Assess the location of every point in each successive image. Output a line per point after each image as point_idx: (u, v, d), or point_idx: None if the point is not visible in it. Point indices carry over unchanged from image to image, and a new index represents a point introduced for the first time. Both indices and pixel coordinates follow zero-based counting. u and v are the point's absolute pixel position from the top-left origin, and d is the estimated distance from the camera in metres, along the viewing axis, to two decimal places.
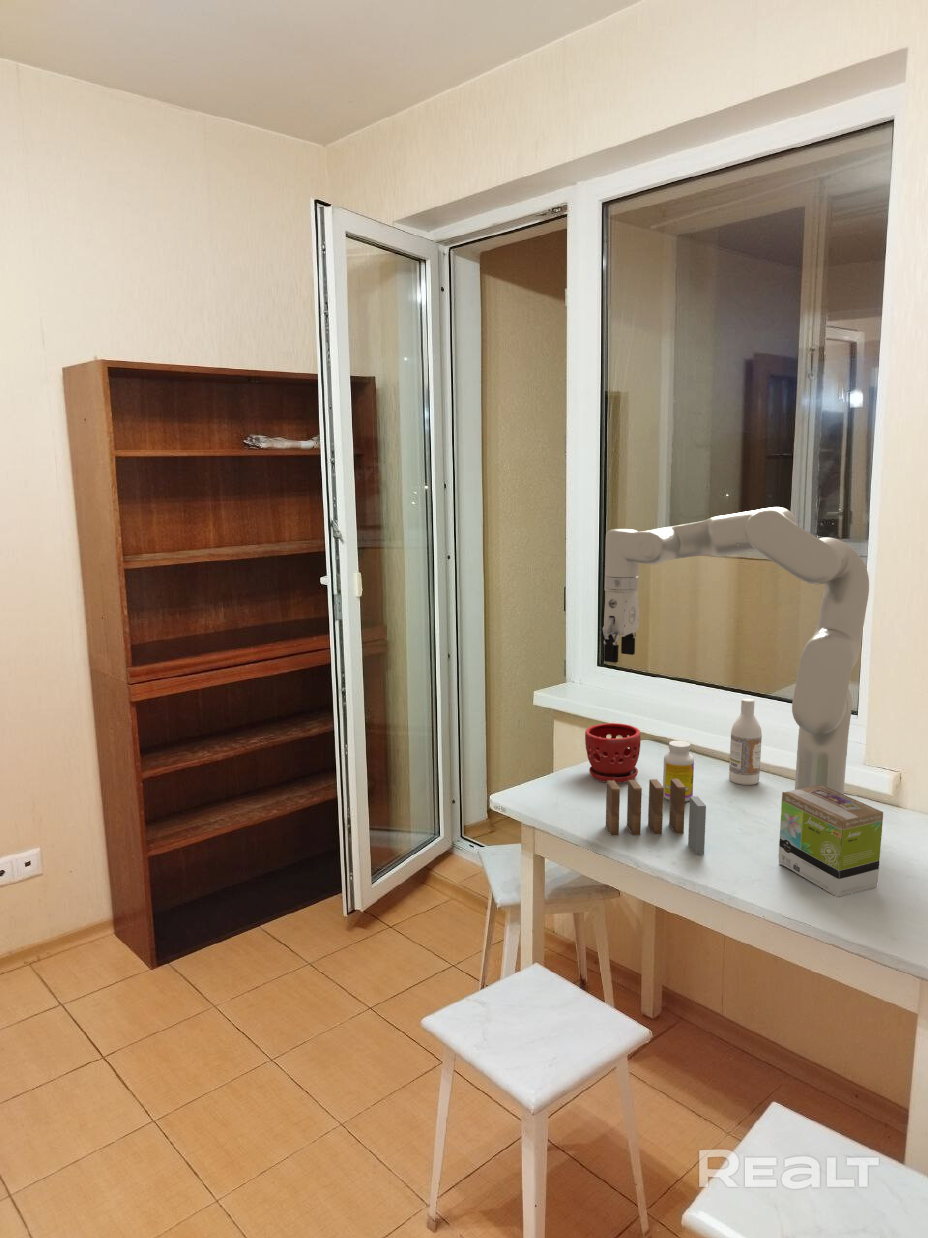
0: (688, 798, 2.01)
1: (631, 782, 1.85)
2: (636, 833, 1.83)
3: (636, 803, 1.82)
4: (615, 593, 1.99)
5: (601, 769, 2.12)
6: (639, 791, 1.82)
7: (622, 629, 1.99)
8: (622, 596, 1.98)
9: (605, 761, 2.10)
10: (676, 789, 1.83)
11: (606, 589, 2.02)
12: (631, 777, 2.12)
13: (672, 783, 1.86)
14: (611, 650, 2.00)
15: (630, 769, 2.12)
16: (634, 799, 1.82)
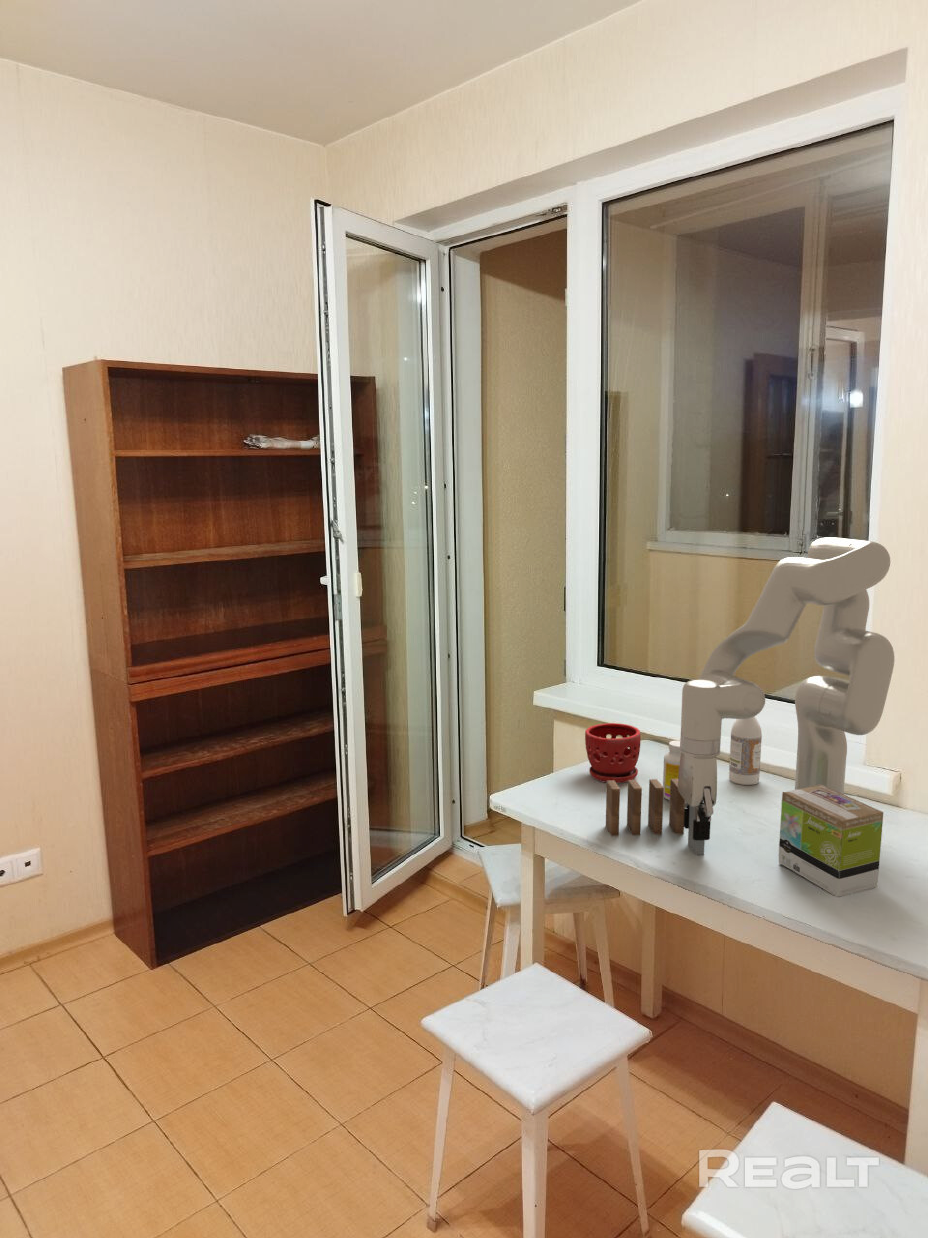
0: None
1: (631, 782, 1.85)
2: (636, 833, 1.83)
3: (636, 803, 1.82)
4: None
5: (601, 769, 2.12)
6: (639, 791, 1.82)
7: None
8: None
9: (605, 761, 2.10)
10: (676, 789, 1.83)
11: None
12: (631, 777, 2.12)
13: (672, 783, 1.86)
14: None
15: (630, 769, 2.12)
16: (634, 799, 1.82)
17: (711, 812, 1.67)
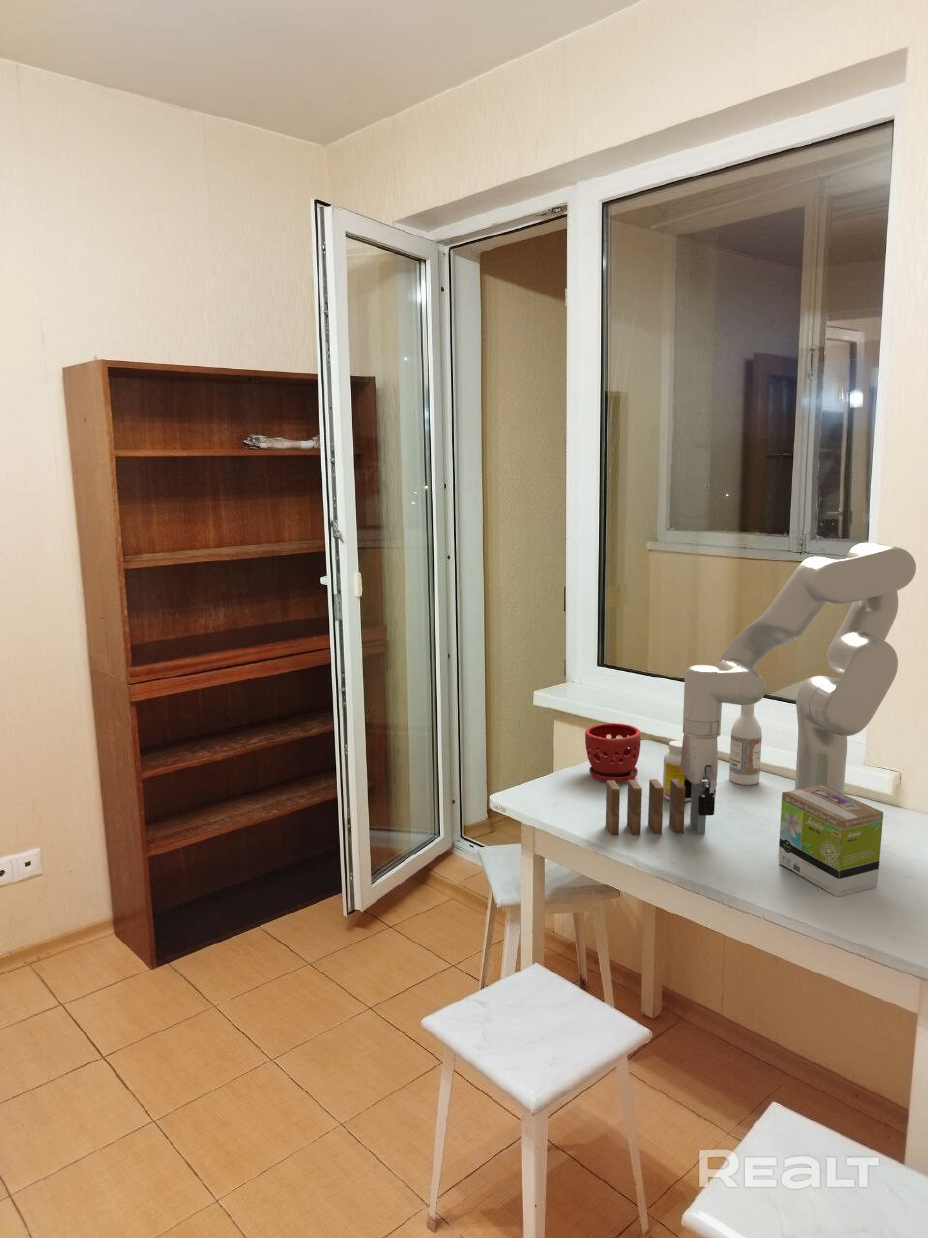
0: (688, 798, 2.01)
1: (631, 782, 1.85)
2: (636, 833, 1.83)
3: (636, 803, 1.82)
4: None
5: (601, 769, 2.12)
6: (639, 791, 1.82)
7: None
8: None
9: (605, 761, 2.10)
10: (676, 789, 1.83)
11: None
12: (631, 777, 2.12)
13: (672, 783, 1.86)
14: None
15: (630, 769, 2.12)
16: (634, 799, 1.82)
17: (715, 783, 1.76)
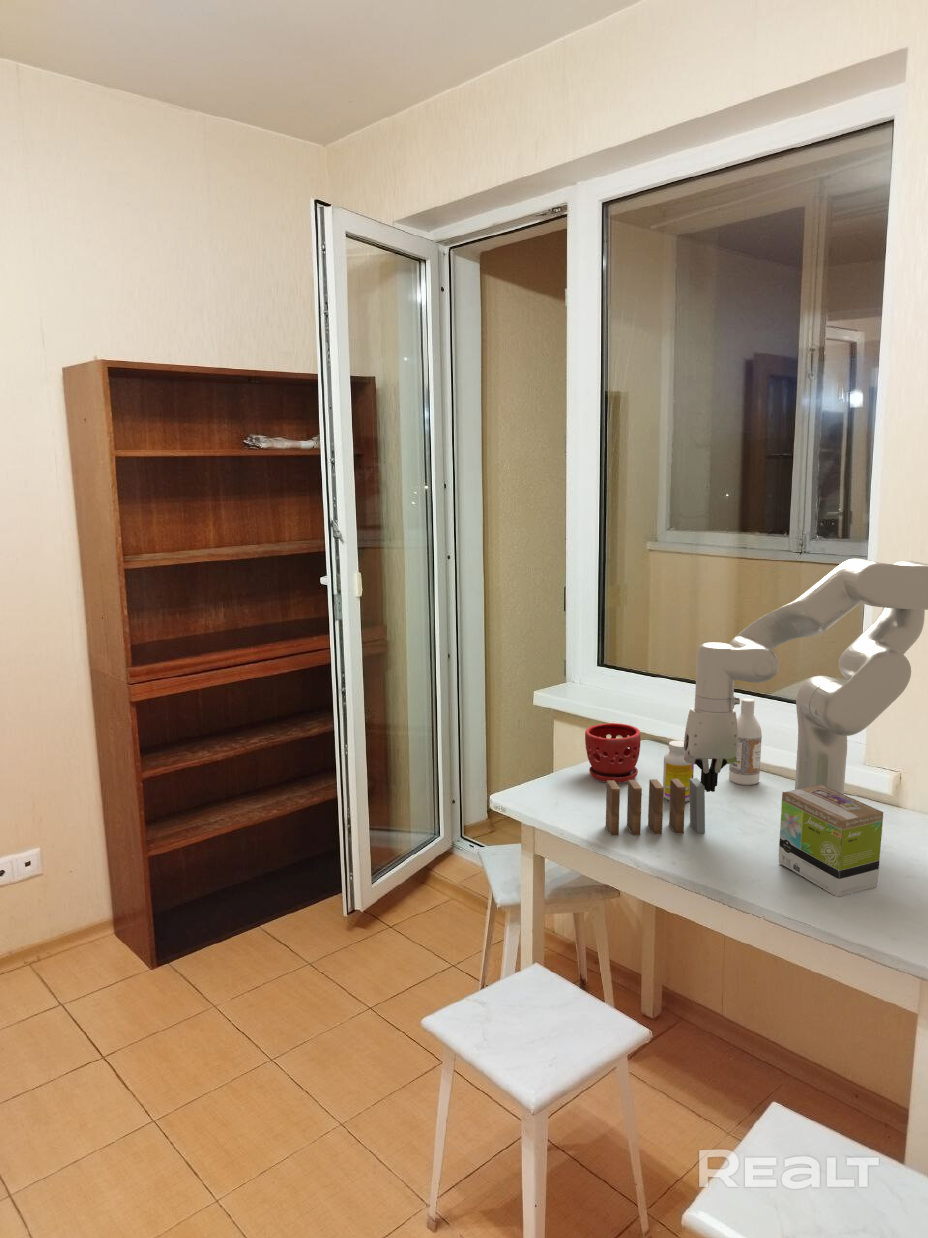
0: (688, 798, 2.01)
1: (631, 782, 1.85)
2: (636, 833, 1.83)
3: (636, 803, 1.82)
4: None
5: (601, 769, 2.12)
6: (639, 791, 1.82)
7: None
8: None
9: (605, 761, 2.10)
10: (676, 789, 1.83)
11: (731, 712, 1.80)
12: (631, 777, 2.12)
13: (672, 783, 1.86)
14: None
15: (630, 769, 2.12)
16: (634, 799, 1.82)
17: None
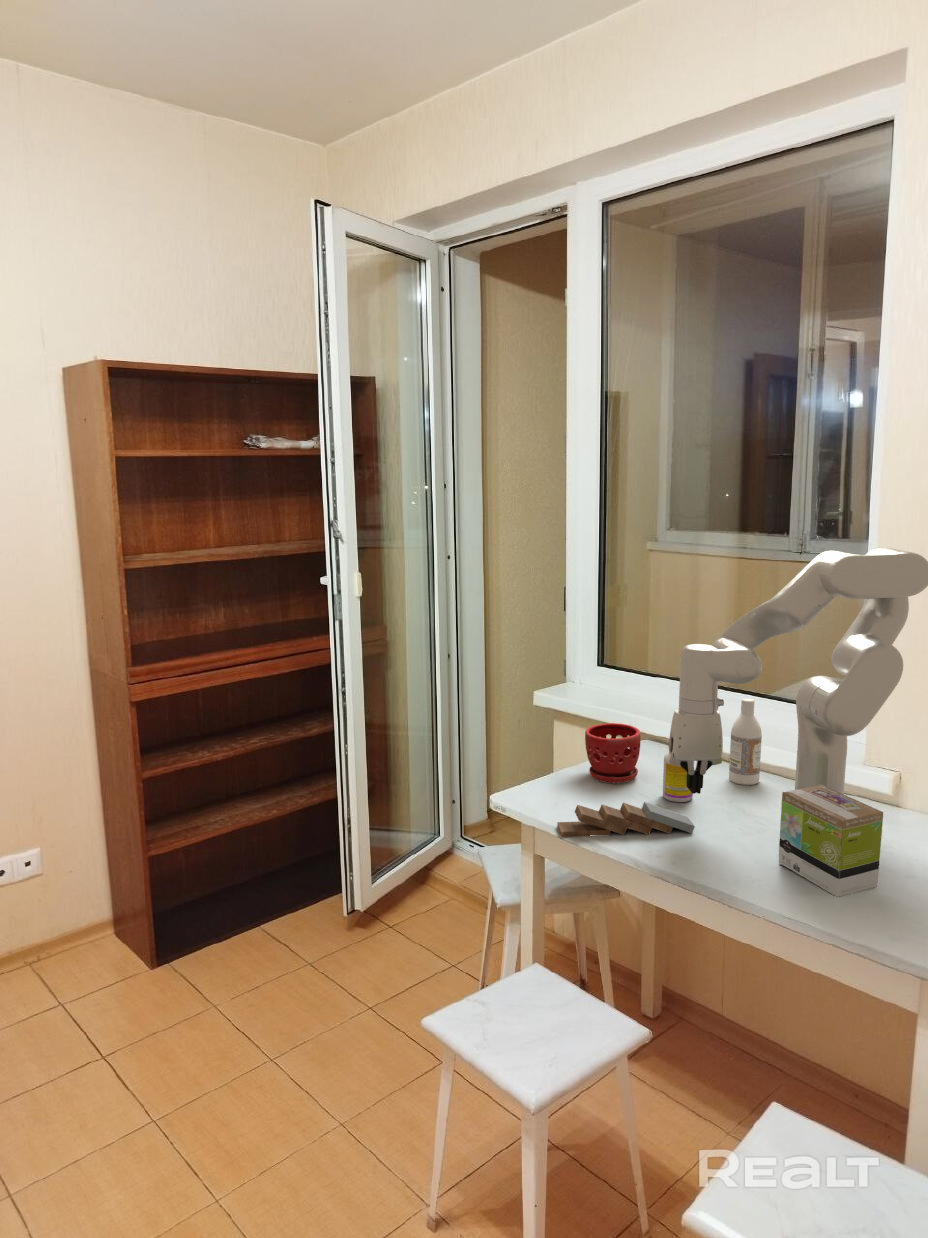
0: (688, 798, 2.01)
1: (576, 812, 1.86)
2: (624, 831, 1.83)
3: (594, 823, 1.82)
4: None
5: (601, 769, 2.12)
6: (583, 816, 1.82)
7: None
8: None
9: (605, 761, 2.10)
10: None
11: (715, 713, 1.80)
12: (631, 777, 2.12)
13: None
14: None
15: (630, 769, 2.12)
16: (589, 823, 1.82)
17: None
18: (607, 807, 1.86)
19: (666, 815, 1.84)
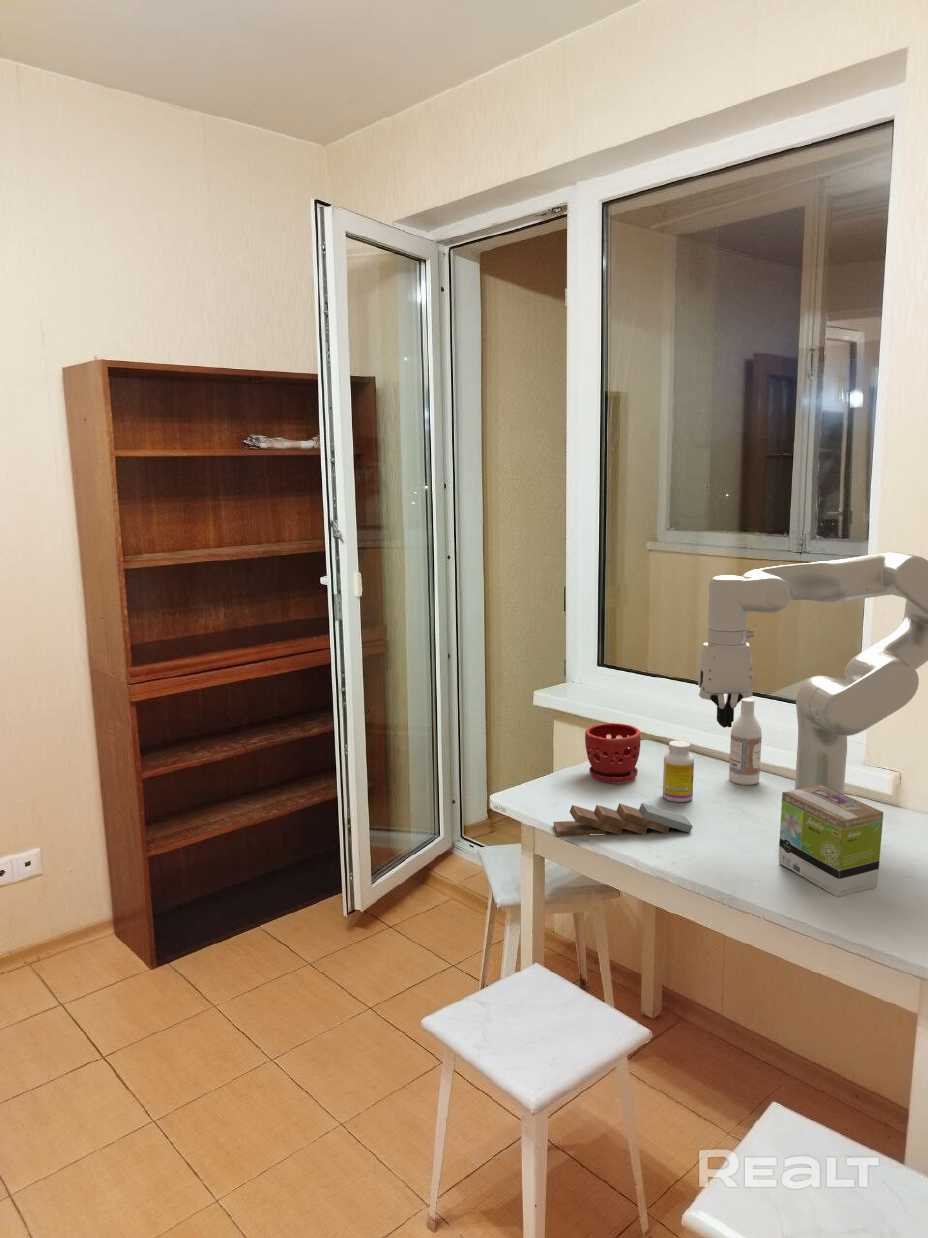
0: (688, 798, 2.01)
1: (571, 813, 1.85)
2: (619, 830, 1.83)
3: (591, 823, 1.82)
4: None
5: (601, 769, 2.12)
6: (580, 817, 1.81)
7: None
8: None
9: (605, 761, 2.10)
10: None
11: (745, 644, 1.78)
12: (631, 777, 2.12)
13: None
14: None
15: (630, 769, 2.12)
16: (586, 823, 1.82)
17: None
18: (602, 807, 1.86)
19: (664, 815, 1.84)
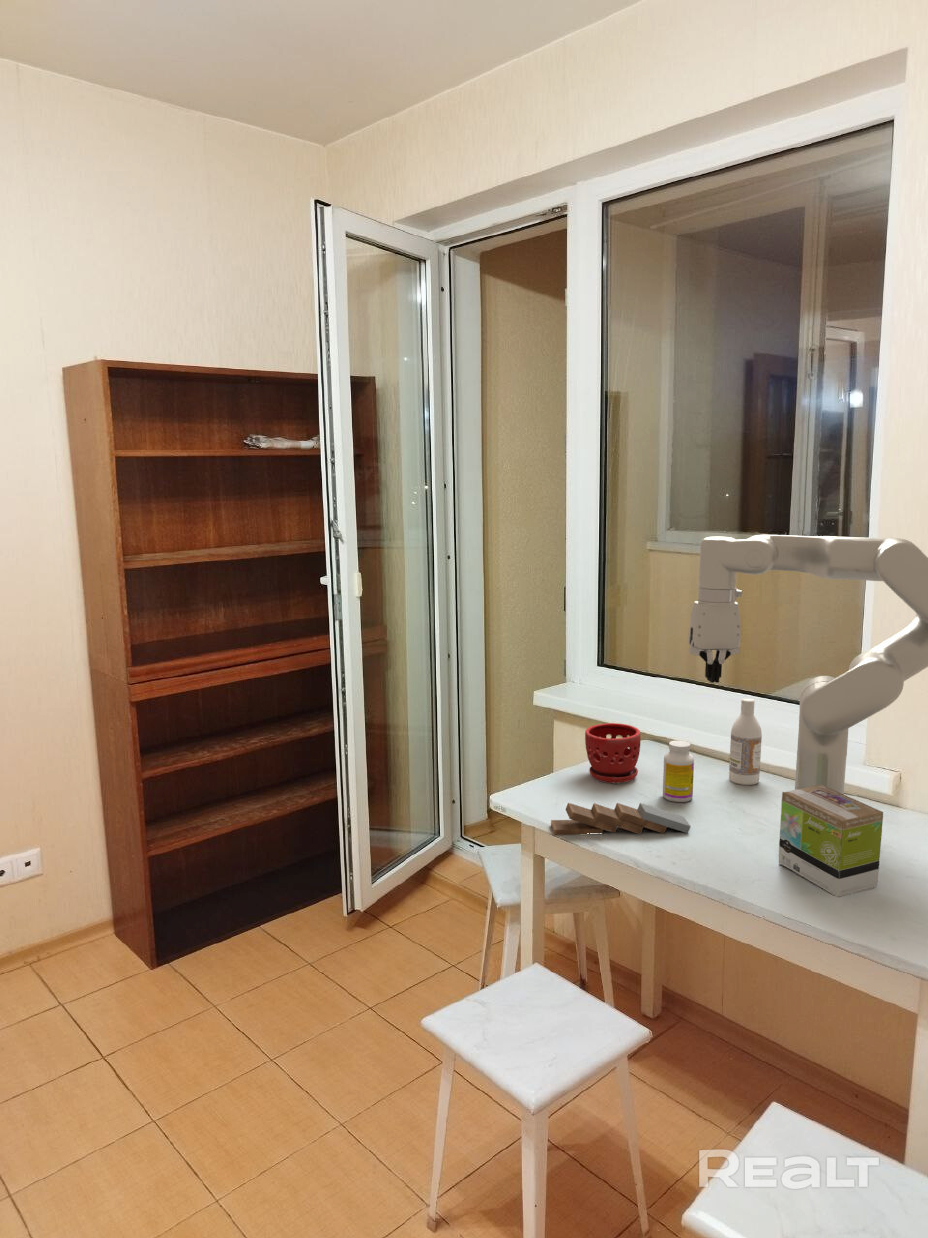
0: (688, 798, 2.01)
1: (567, 810, 1.86)
2: (614, 829, 1.84)
3: (585, 821, 1.83)
4: None
5: (601, 769, 2.12)
6: (574, 814, 1.82)
7: None
8: None
9: (605, 761, 2.10)
10: None
11: (733, 602, 1.86)
12: (631, 777, 2.12)
13: None
14: None
15: (630, 769, 2.12)
16: (580, 821, 1.83)
17: (690, 653, 1.89)
18: (599, 806, 1.87)
19: (661, 815, 1.84)
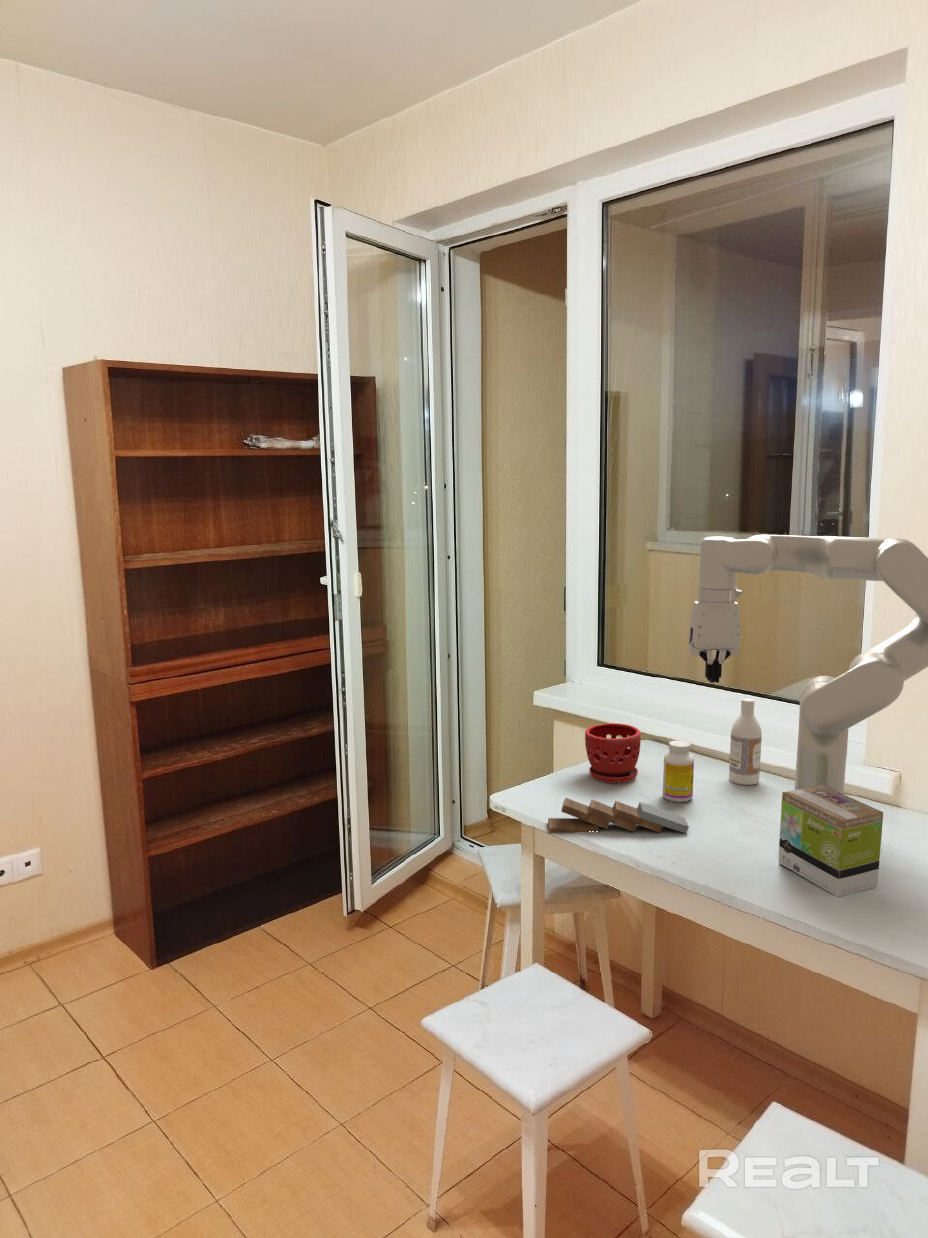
0: (688, 798, 2.01)
1: None
2: (606, 825, 1.85)
3: (577, 815, 1.86)
4: None
5: (601, 769, 2.12)
6: (565, 807, 1.86)
7: None
8: None
9: (605, 761, 2.10)
10: None
11: (733, 602, 1.86)
12: (631, 777, 2.12)
13: None
14: None
15: (630, 769, 2.12)
16: (572, 815, 1.86)
17: (690, 653, 1.89)
18: (596, 802, 1.89)
19: (659, 815, 1.84)
